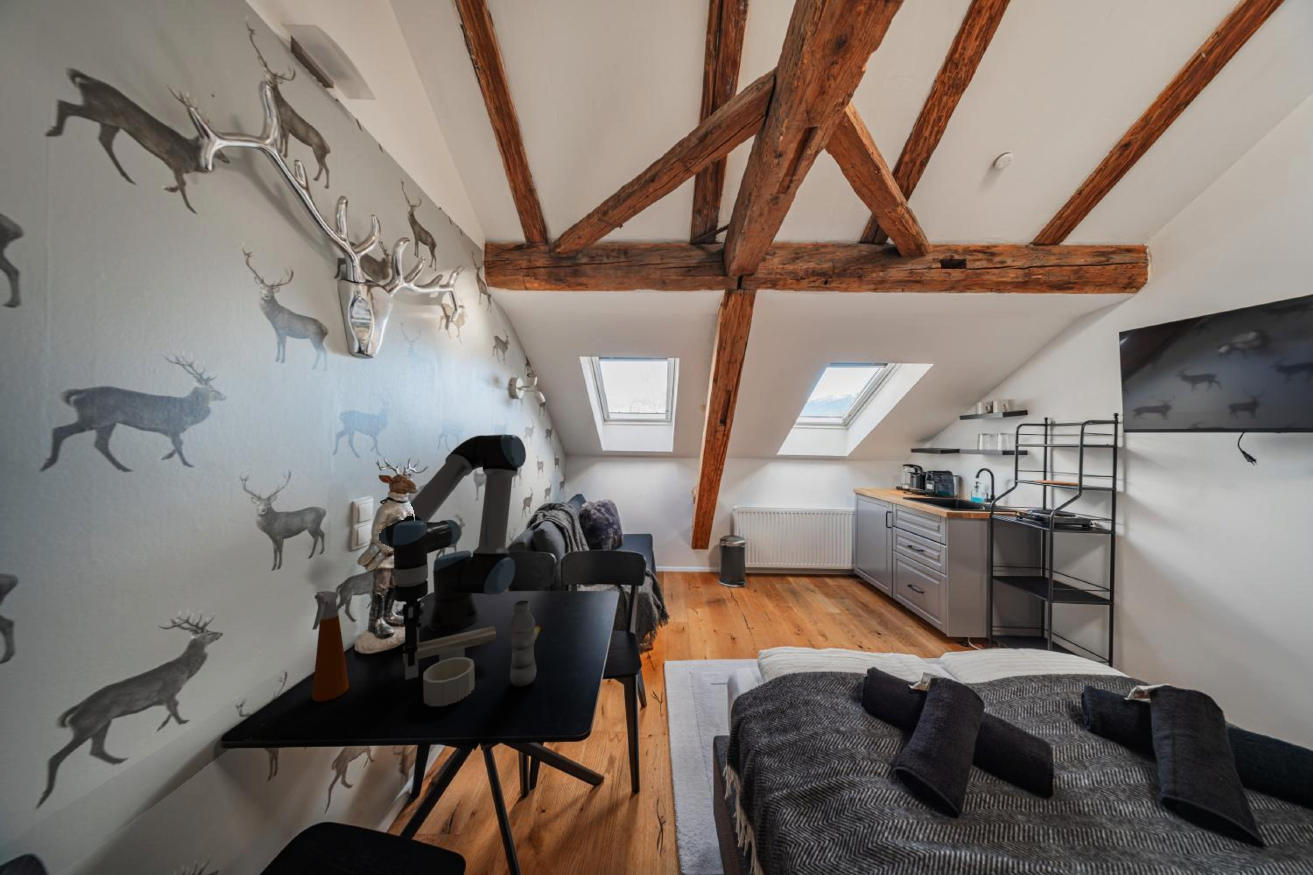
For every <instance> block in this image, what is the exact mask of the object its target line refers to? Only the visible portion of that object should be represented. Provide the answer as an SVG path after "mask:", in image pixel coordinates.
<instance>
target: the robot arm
mask: <svg viewBox="0 0 1313 875" xmlns="http://www.w3.org/2000/svg"><path fill="white" fill-rule="evenodd" d="M526 459H527V452H526V447H525V445H524V442H523V440H522V439H521V438H520V437H519V436H517V435H515V434H505V433H504V434H493V435H489V434H488V435H486V434H485V435H483V434H482V435H476V436H473V437H470V438H468V439H466V440H464V441H462V443H460V444H459V445H458V446H456V447H455V448H454V449H453V450H451V452H450V453H449V454H448V455H447V456H446V458H445V461H444V462H445V463H444V464H443V465H442V466H441V467H440V469H439V470H438V471H437V472H436V473H435V474H434V475H433V477H432V478H431V479H430V480H429V481H428V482H427V483H426V485H425V486H423V488H422V489H421V490H420V491H419V493H418V494H417V495H416V496H415V497H414V498H413V500H412V501H410V503H409V504H411V506H412V507H413V510H414V514H415V521H414V517H413V514H412V516H407V517H406V518H405V519H404V520H401V521H398V522H396V523H394V524H392V525H390V526H386V527H385V528H384V529H382V531H381V533H379V541H381V543H383V544H385V545H387V546H389V547H391V548H390V549H393V570H394V571H391V573H390V575H391V576H394V577H393V582H394V584H395V585H394V587H393V594H394V595H393V597H394V601H396V602H398V603H402V602H403V604H402V611H401V612H402V615H403V617H402V618H403V620H402V622H403V625H404V646H405V650H404V649H403V650H402V651H401V655H403V654H405V662H404V679H405V681H407V680H409V679H413V678H417V677H419V659H418V647H417V643H420V628H422V622H420V613H421V608H422V607H421V605H422V604H421V601H420V600H419V599H423V598H425V597H426V596H427V595H428V593H429V583H428V580H427V579H428V578H429V574H428V573H429V566H428V565H429V564H428V563H429V562H428V554H431V553H434V552H436V551H440V550H442V549H445V548H448V547H450V546H452V545H454V544H456V543H458V541H459V539H460V537H461V527H460V525H459V524H458V523H457V521H455V520H452V519H445V520H444V519H443V520H440V521H434V522H433V521H430V520H431V519H432V518H433V516H434V515H435V514H436V512H438V510H439V509H440V507H441V506H442V505H443V504H444V502H445V501H446V500H447V499H448V497H449V496H450V495H451V493H452V492H454V490H455V489H456V487H457V486H458V485H459V484H460V483H461V482H462V480H463V479H464V478H465V476H466V477H467V476H469V475H470V474H472V473H473V471H474V470H476V469H479V468H482V472H483V473H484V475H485V476H486V479H485V487H484V495H483V504H482V511H481V512H482V513H481V522H480V531H479V540H478V546H477V547H476V548H475V549H474V550H473V551H470V550H460V551H456V552H451V553H447V554H446V553H445V554H443V555H440V556H439V557H436V559H435V560H434V561H433V570H432V573H433V575H432V576H433V578H432V579H433V606H432V607H431V612H430V614H429V617H428V628H429V630H431V629H433V630H436V631H435V632H449V631H448V630H452V631H456V630H455V629H457V630H460V629H463V628H465V627H469V626H471V625H472V624H473V623H474V624H475V622H477V620H478V619H479V612H478V611H479V610H478V608H477V605H476V603H475V601H474V598H473V594H478V595H479V594H482V595H488V596H490V595H500V594H503V593H504V592H506V591H507V590H508V588H509V587H510V585H511V583H512V582H513V580H514V577H515V572H516V564H515V560H514V559H513V558H511V557H510V551H509V550H508V548H507V546H506V543H507V534H508V533H507V532H508V525H509V524H508V523H509V516H510V505H511V497H512V496H511V494H512V488H513V487H512V485H513V478H514V477H515V476H517V474H518V471H519V468H522V467H523V466H524V465H525V463H526ZM418 600H419V601H418ZM433 630H432V631H433ZM411 646H413V647H411Z"/></svg>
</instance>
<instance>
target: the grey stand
mask: <svg viewBox="0 0 1313 875" xmlns="http://www.w3.org/2000/svg"><path fill="white" fill-rule="evenodd" d="M465 649H466V648H462V649H458V650H454V651H450V652H446V653H441V654H438V662H440V661H442V660H446V659H450V658H455V657H465V656H466V655H465V654H466V653H465Z"/></svg>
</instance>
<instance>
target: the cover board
mask: <svg viewBox="0 0 1313 875" xmlns="http://www.w3.org/2000/svg"><path fill="white" fill-rule="evenodd" d="M494 641H497V632H496V629H495V626H494V625H492V626H489V627H483V628H479V629H474V630H470V631H467V632H466V631H465V632H462V633H458V634H457V633H456V634H454V635H453V634H452V635H448V636H443V637H439V638H435V639H430V640H426V641H421V642H419V643H417V647H418V660H421V659H424V658H429V657H432V656H437V655H439V654H441V653H446V652H450V651H454V650H458V649H462V648H465V649H466V648H470V647H474V646H478V645H483V644H487V643H490V642H494ZM411 647H413V646H411ZM404 650H405V645H404V646H403V651H404ZM402 663H404V664H405V654H402Z"/></svg>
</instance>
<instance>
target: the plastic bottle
mask: <svg viewBox="0 0 1313 875" xmlns="http://www.w3.org/2000/svg"><path fill="white" fill-rule="evenodd" d="M513 607H514V608H513V612H514V614H513V616H512V617H511V619H510V621H509V623H508V630H509V636H510V637H509V638H510V642H511V644H510V645H511V662H510V668H509V679H510V683H511V684H512V685H513V686H514V687H517V688H520V687H526V686H528V685H530V684H532V683H533V682H534V680H535V678H536V676H537V671H538V670H537V663H536V661H535V652H534V646H535V643H534V630H535V625H536V620H535V618H534V616H533V615H532V613H531V612H530V609H531V608H530V607H531V606H530V601H528V600H525V599H524V600H517V601H515V602H514V605H513ZM533 643H534V645H533Z"/></svg>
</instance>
